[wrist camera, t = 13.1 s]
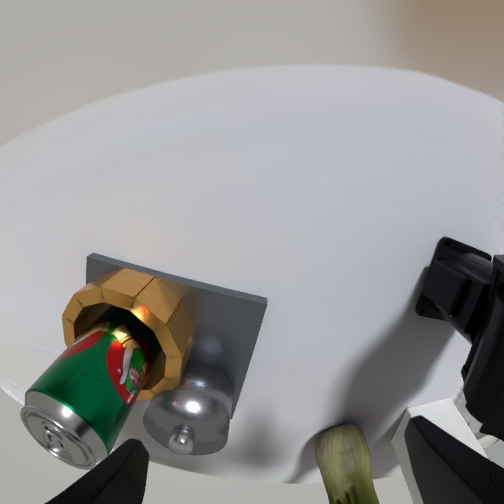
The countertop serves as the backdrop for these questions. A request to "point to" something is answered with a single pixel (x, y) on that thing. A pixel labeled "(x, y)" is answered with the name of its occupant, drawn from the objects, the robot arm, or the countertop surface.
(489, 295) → the robot arm
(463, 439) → the milk
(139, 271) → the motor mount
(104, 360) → the soda can
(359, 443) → the fennel bulb
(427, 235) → the countertop surface
